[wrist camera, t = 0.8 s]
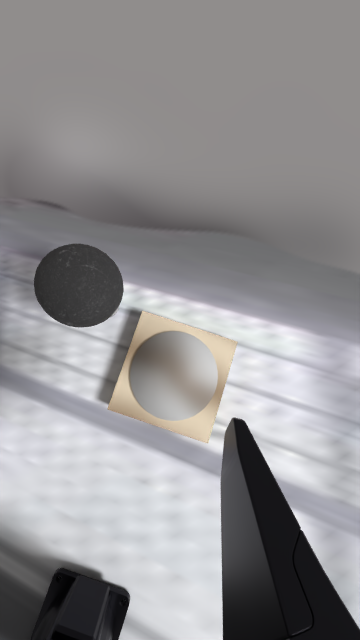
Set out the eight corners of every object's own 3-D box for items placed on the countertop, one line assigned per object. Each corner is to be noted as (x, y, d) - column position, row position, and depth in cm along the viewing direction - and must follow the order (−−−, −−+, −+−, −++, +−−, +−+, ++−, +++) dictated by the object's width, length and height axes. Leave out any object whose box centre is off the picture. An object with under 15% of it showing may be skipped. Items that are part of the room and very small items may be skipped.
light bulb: (72, 290, 25) (2, 244, 15) (126, 271, 25) (94, 214, 15) (89, 344, 24) (28, 335, 14) (145, 324, 24) (125, 300, 14)
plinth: (205, 437, 23) (208, 444, 21) (111, 405, 23) (106, 409, 21) (233, 342, 24) (238, 341, 22) (144, 313, 24) (142, 310, 23)
